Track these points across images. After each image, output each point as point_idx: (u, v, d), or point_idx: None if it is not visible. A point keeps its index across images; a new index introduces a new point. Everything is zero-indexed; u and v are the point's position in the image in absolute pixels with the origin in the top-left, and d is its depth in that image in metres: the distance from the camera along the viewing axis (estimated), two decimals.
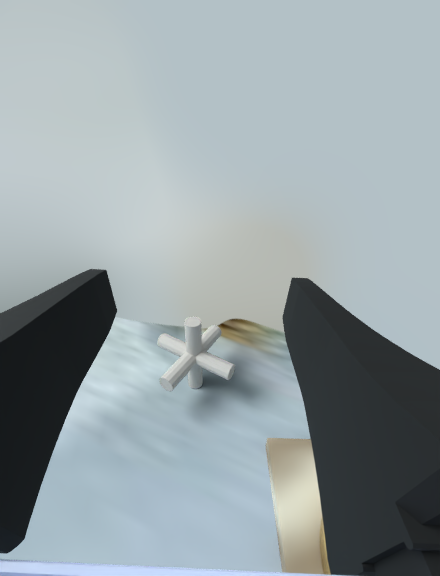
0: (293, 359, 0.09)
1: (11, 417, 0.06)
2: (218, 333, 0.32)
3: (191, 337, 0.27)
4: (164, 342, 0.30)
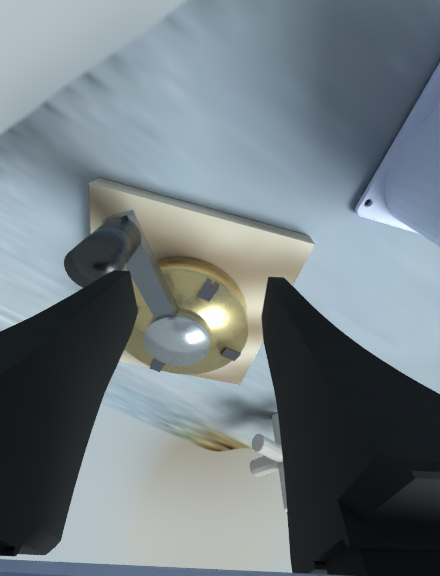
0: (268, 358, 0.09)
1: (51, 419, 0.06)
2: (254, 468, 0.32)
3: None
4: None
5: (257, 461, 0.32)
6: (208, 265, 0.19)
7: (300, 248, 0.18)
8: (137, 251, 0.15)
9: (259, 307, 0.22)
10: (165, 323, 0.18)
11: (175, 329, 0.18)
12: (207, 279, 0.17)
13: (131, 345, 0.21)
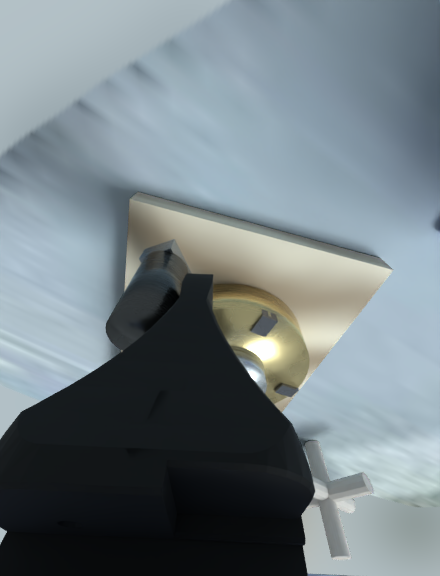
0: None
1: None
2: None
3: (341, 534, 0.24)
4: (350, 506, 0.28)
5: None
6: (258, 291, 0.16)
7: (375, 274, 0.15)
8: None
9: (314, 337, 0.19)
10: None
11: None
12: (263, 311, 0.14)
13: None
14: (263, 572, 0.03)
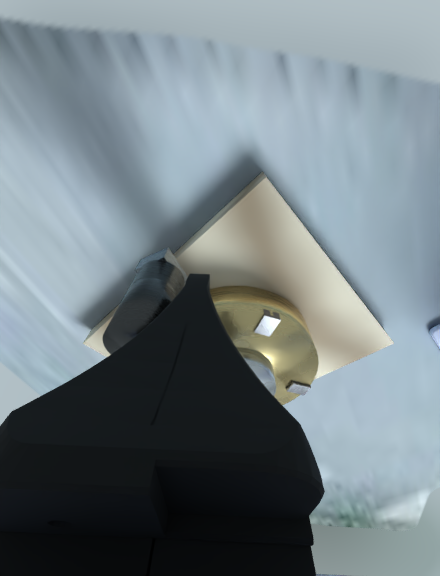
0: None
1: None
2: None
3: None
4: None
5: None
6: (259, 290, 0.16)
7: (381, 341, 0.19)
8: None
9: None
10: None
11: None
12: (264, 311, 0.14)
13: None
14: (271, 572, 0.03)
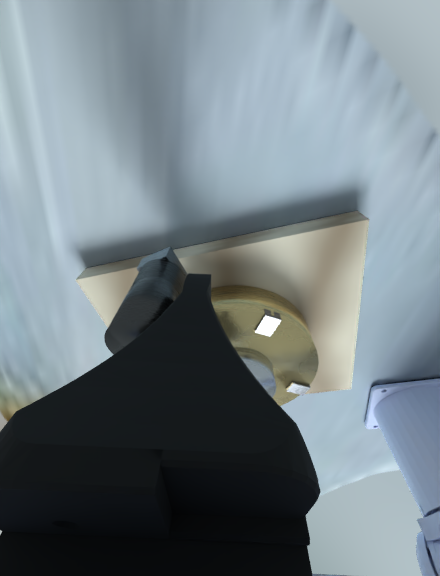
0: None
1: None
2: None
3: None
4: None
5: None
6: (260, 290, 0.16)
7: (344, 384, 0.22)
8: None
9: None
10: None
11: None
12: (265, 311, 0.14)
13: None
14: (268, 572, 0.03)
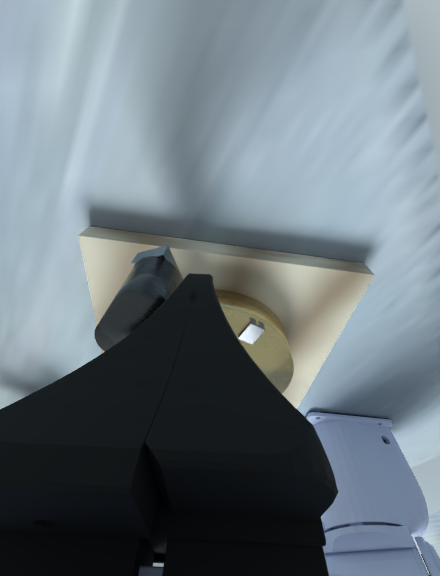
0: None
1: None
2: None
3: None
4: None
5: None
6: (247, 298, 0.16)
7: None
8: None
9: None
10: None
11: None
12: (251, 319, 0.15)
13: None
14: (284, 573, 0.03)
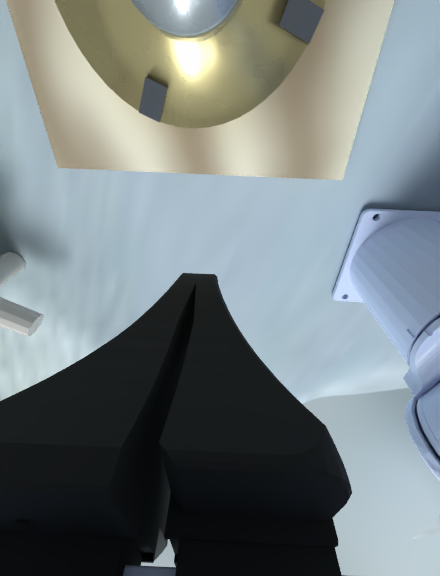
0: None
1: None
2: None
3: None
4: None
5: None
6: None
7: (337, 164, 0.15)
8: None
9: (237, 142, 0.15)
10: None
11: None
12: None
13: (93, 37, 0.10)
14: (297, 574, 0.03)
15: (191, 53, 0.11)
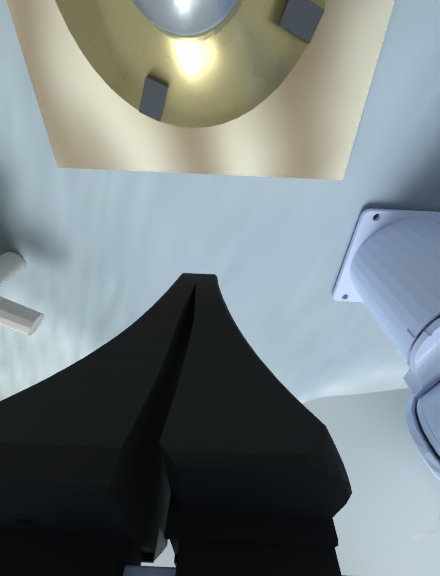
0: None
1: None
2: None
3: None
4: None
5: None
6: None
7: (337, 164, 0.15)
8: None
9: (237, 142, 0.15)
10: None
11: None
12: None
13: (94, 36, 0.10)
14: (297, 574, 0.03)
15: (191, 53, 0.11)
